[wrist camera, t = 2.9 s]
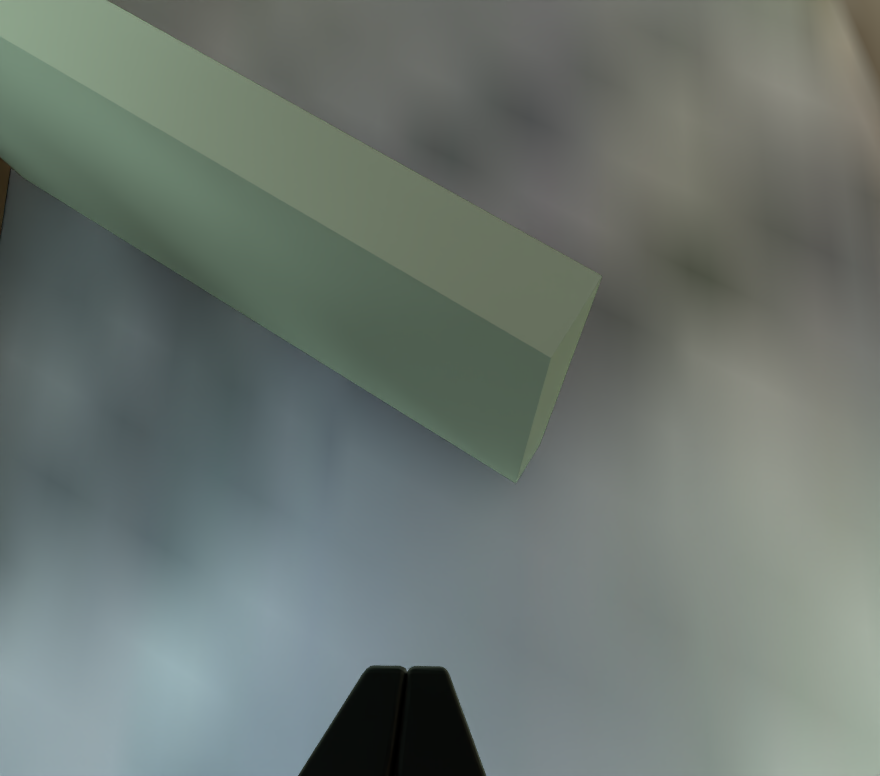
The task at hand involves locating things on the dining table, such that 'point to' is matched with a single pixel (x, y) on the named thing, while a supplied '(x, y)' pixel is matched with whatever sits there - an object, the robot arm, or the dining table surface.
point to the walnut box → (3, 187)
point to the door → (294, 224)
